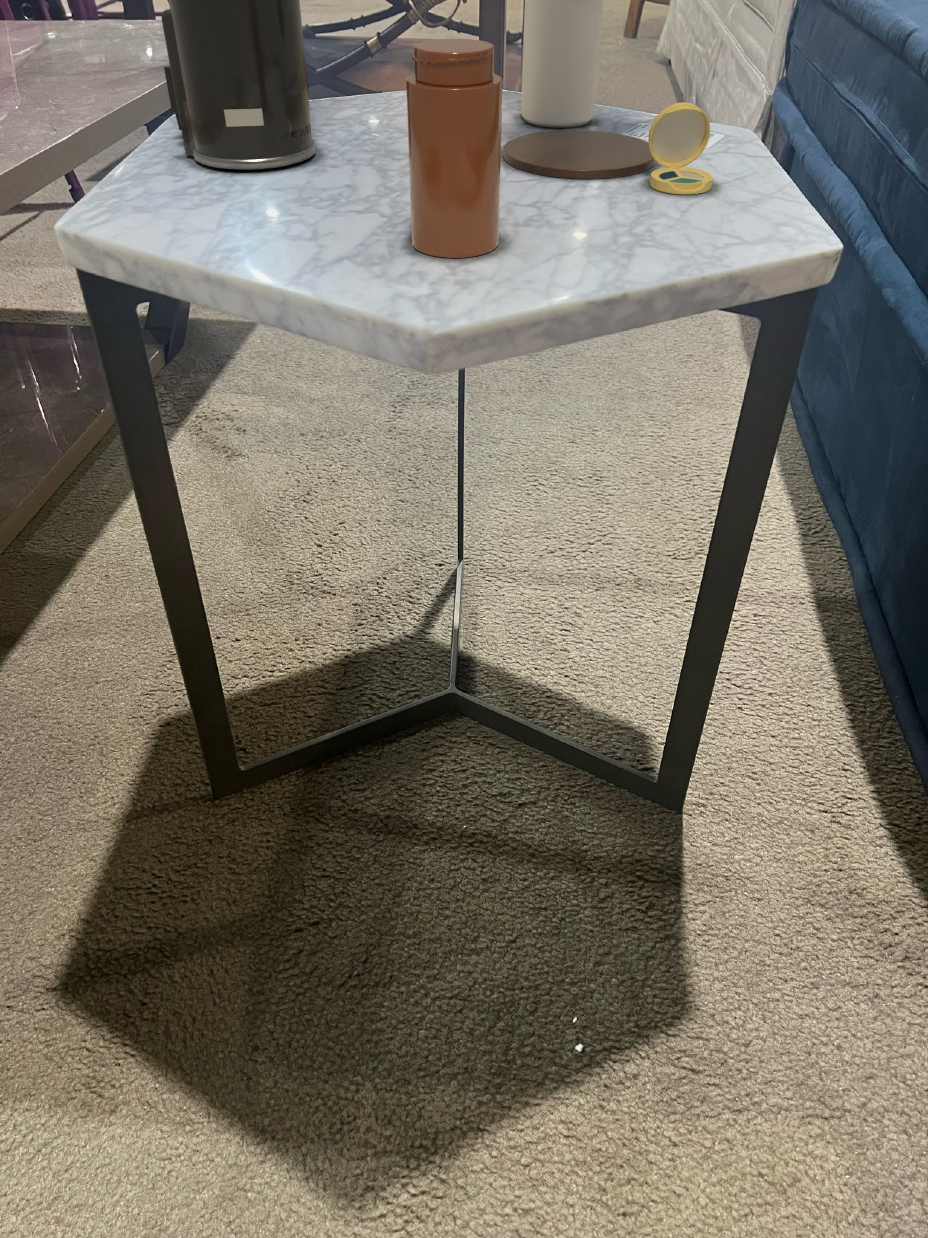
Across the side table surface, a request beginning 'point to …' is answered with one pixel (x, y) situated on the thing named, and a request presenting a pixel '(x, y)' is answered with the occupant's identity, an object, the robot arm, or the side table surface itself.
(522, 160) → the coaster
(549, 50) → the can
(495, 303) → the side table surface
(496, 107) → the jar
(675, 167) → the eyeshadow
